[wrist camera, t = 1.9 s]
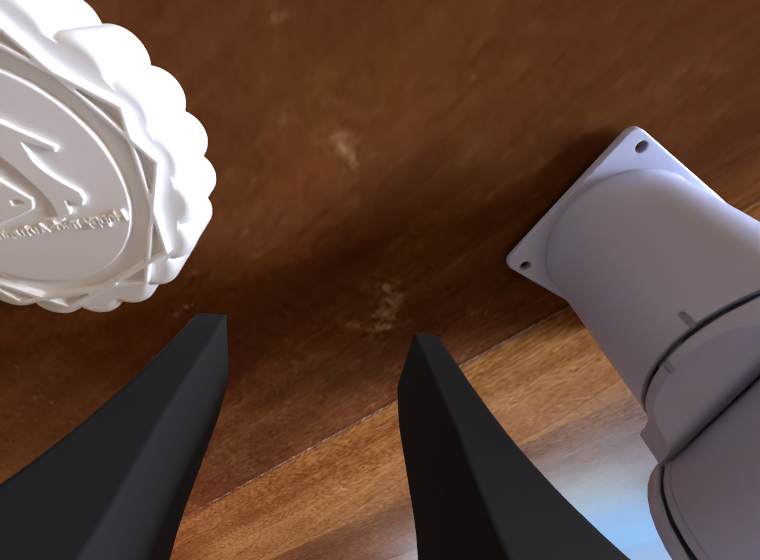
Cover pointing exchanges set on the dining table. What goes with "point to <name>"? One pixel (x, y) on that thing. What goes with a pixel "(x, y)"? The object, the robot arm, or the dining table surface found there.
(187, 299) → the dining table surface
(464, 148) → the dining table surface
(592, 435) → the dining table surface
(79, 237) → the mooncake
